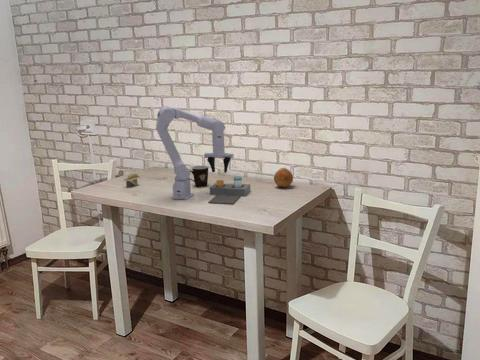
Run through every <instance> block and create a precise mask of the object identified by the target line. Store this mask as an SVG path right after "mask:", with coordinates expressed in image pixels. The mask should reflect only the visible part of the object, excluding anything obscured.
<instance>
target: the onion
mask: <svg viewBox="0 0 480 360" xmlns="http://www.w3.org/2000/svg"><path fill="white" fill-rule="evenodd" d="M293 175H294V174H292V171H290V169H288V168H286V167H281V168H279V169H278V170H276V172H275V173H274V175H273V181H274V183H275V184H276V186H278V187H280V188H282V189H283V188H288V187H289V186H291V185H292V183H293V181H294V176H293Z"/></svg>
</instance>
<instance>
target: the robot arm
mask: <svg viewBox="0 0 480 360" xmlns="http://www.w3.org/2000/svg"><path fill="white" fill-rule="evenodd" d="M180 118H181V119H184V120H188V121H191V122H194V123H196V125H197V126H198V127H200V128H204V129H205V130H206V129H207V130H208V131H211V138H212V139H211V140H212V152H210V153H208V152H207V153H205V152H204V155H203V156H204V159H205V158H207V159H206V160H207V162H208V164H209V166H210V169H211V172H212V173H215V172H216V166H215V165H216V159H219V158H220V159H222V160H223V166H224V167H223V170H224V171H223V172H224V174H225V173H228V168H229V164H230V161H231V159H234V156H235V155H234V154H235V153H226V152H225V135H224V134H225V132H224V131H225V130H226V126H225V123H224V122H223V121H221V120H219V119H217V118H215V117H214V118H213V117H210V116H208V115H207V114H205V113H204V114H200V115H196V114H193V113H190V112H188V111H185V110H183V109H180V108H176V107H169V106H162V107H160V108H159V111H158V112H157V114H156V125H155V129H156V132H157V134H158V135H159V138H160V140H161V142H162V144H163V146H164V149H165V150H166V152H167V154H168V157H169V159H170V160H171V163H172V165H173V172H174V174H175V177H174V183H173V184H172V197H171V200H188V199H190V198H191V197H192V196H194V195H195V193H192V192H191V180H190V179H191V177H190V176H191V172H190V171H191V170H190V169H189V168H188V167H187V165H185V163H184V161H183V160H182V159H183V158H182V157H181V156H180V153H179V151H178V149H177V147H176V146H175V142H174V141H173V139H172V137H171V135H170V132H169V130H168V128H169V126H170V124H171V123H172V122H173V120H174V119H176V120H177V119H180Z"/></svg>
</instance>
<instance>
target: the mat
mask: <svg viewBox="0 0 480 360" xmlns="http://www.w3.org/2000/svg"><path fill="white" fill-rule="evenodd" d="M240 198H241V196H226V195H214V197H212V198H211V199H210V200H209V201H207V203H208V204H214V205H216V204H218V205H232V206H233V205H234V204H235V203H237V201H238V200H239V199H240Z"/></svg>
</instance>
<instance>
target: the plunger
mask: <svg viewBox="0 0 480 360" xmlns="http://www.w3.org/2000/svg"><path fill="white" fill-rule="evenodd" d="M224 181H225V180H224V179H218V180H216V182H215V183H217V187H224V184H225V183H224Z"/></svg>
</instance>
